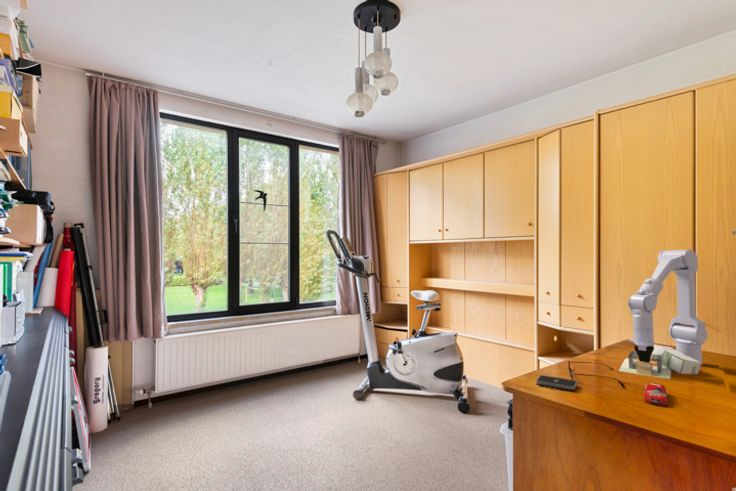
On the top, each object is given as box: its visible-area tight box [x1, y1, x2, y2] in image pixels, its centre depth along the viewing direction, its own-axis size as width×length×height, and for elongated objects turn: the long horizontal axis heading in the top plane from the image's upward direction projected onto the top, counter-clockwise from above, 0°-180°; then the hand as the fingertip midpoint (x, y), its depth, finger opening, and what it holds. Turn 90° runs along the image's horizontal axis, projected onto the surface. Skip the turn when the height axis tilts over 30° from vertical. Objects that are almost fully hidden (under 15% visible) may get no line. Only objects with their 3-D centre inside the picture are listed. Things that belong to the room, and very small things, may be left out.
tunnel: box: [628, 351, 662, 373], centre depth 132 cm, size 8×9×4 cm
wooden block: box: [635, 361, 653, 376], centre depth 127 cm, size 5×4×3 cm
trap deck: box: [618, 358, 672, 380], centre depth 132 cm, size 20×14×2 cm
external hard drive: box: [536, 374, 578, 393], centre depth 119 cm, size 7×11×2 cm, turn 53°
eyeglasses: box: [567, 360, 626, 388], centre depth 126 cm, size 16×16×4 cm
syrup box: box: [650, 343, 701, 375], centre depth 131 cm, size 6×6×14 cm
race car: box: [643, 382, 668, 407], centre depth 107 cm, size 13×5×4 cm, turn 140°
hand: (644, 367), depth 129 cm, fingers closed
